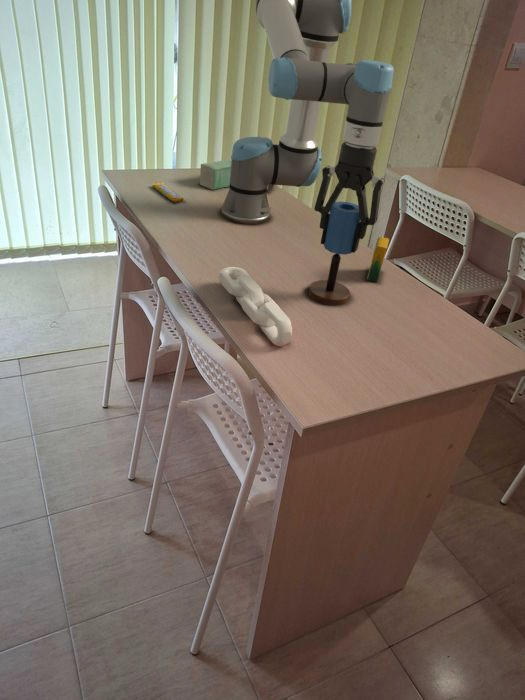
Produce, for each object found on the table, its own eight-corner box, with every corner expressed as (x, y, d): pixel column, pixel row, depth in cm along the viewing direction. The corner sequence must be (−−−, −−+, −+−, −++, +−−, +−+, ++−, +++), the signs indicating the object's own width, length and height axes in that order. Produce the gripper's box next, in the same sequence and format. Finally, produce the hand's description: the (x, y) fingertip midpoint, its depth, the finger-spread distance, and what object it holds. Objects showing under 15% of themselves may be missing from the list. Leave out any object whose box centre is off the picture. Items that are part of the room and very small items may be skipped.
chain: (297, 347, 112) (301, 321, 109) (271, 352, 109) (274, 326, 106) (238, 281, 133) (241, 258, 130) (215, 284, 131) (217, 261, 127)
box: (240, 184, 196) (242, 163, 192) (213, 190, 187) (214, 169, 183) (226, 179, 200) (227, 158, 196) (199, 184, 191) (199, 163, 187)
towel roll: (321, 241, 128) (329, 200, 122) (349, 243, 129) (357, 202, 123) (327, 253, 123) (335, 211, 117) (356, 255, 123) (365, 213, 118)
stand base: (305, 284, 136) (306, 279, 135) (343, 286, 138) (345, 281, 137) (312, 304, 128) (313, 298, 127) (353, 306, 130) (354, 300, 129)
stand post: (325, 287, 133) (332, 251, 127) (333, 287, 133) (340, 252, 128) (326, 291, 131) (334, 255, 126) (334, 291, 131) (342, 256, 126)
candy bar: (184, 202, 174) (185, 197, 173) (173, 204, 172) (173, 198, 171) (162, 186, 185) (162, 180, 184) (151, 187, 183) (151, 181, 182)
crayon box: (377, 282, 142) (388, 241, 135) (366, 280, 142) (376, 239, 136) (380, 271, 148) (391, 231, 141) (370, 269, 148) (379, 229, 142)
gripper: (309, 137, 113) (294, 240, 125) (402, 157, 107) (375, 263, 120) (321, 132, 118) (305, 230, 131) (409, 150, 113) (383, 252, 126)
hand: (338, 246), depth 126 cm, fingers closed on towel roll, 7 cm apart
